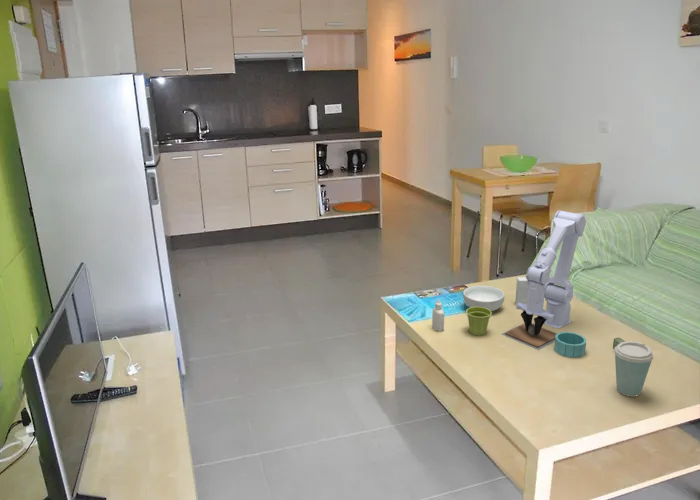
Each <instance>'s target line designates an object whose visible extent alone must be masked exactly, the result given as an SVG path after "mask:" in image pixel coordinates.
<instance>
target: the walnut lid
mask: <svg viewBox="0 0 700 500" xmlns="http://www.w3.org/2000/svg"><path fill="white" fill-rule="evenodd" d="M522 324H523V325H522ZM522 324H520V325H521V326H519V325H518V326H519V327H517V326H515V327H516V328H515V327H514V329H513V328H511V329H512V330H511V329H510V331H509V330H507V331H508V332H507V331H505V332H506V333H505V332H504V333H505V334H506V335H508V336H510V337H513V338H515V339H517V340H520V341H522V342H524V343H527V344H529V345H531V346H534V347H536V348H539V347H541V346H543V345H545V344H546V343H548V342H550V341H552V340H554V339H555V336H556V334H558V333H557V332H554V331H551V330H549V329H546V328H544V327H542V328H541V330H540V333H539V334H538V335H535V323H532V324H530V325H529V328H528V331H526V328H525V324H524V323H522Z"/></svg>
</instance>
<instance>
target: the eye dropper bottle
mask: <svg viewBox="0 0 700 500" xmlns="http://www.w3.org/2000/svg"><path fill="white" fill-rule="evenodd" d="M434 305H435V307H434V308H432V315H431V316H432V317H431V318H432V319H431V323H432V324H431V327H432V329H433V330H434V329H435V330H434V331H436V332H443V331H444V329H445V311H444V310H443V308H442V305H443V303H442V302H441V301H440V299H437V302H435V303H434Z"/></svg>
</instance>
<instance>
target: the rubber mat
mask: <svg viewBox="0 0 700 500" xmlns="http://www.w3.org/2000/svg"><path fill="white" fill-rule="evenodd" d="M523 324H525V323H524V322H523V323H522V324H520V325H518V326H515V327H514V328H516V327H519V326H521V325H523ZM514 328H513V327H512V328H511V329H510V330H512V329H514ZM510 330H507V331H505V332H502V333H501V335H502V336H503V337H507V338H509V339H512V340H514V341H516V342H519V343H521V344H524V345H525V346H527V347H530V348H532V349H534V350H538V351H540V350H541V349H544V348H545V347H547V346H549V345H551V344H553V343H555V339H554V340H552V341H550V342H548V343H546V344H545V345H543V346H541V347H539V348H536V347H534V346H531V345H529V344H527V343H524V342H522V341H520V340H517V339H515V338H513V337H510V336H508V335H506V334H505V333H506V332H508V331H510Z"/></svg>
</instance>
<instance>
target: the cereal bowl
mask: <svg viewBox="0 0 700 500" xmlns="http://www.w3.org/2000/svg"><path fill="white" fill-rule="evenodd" d="M462 298H463V302H464V303H465V305H466V306H467V307H468V308H471V307H484V308H487V309H489V310H490V311H491V312H493V311H495V310H498V309H500V308H501V307H502V306H503V304H504V302H505V292H504V291H503V290H502V289H500V288H497V287H495V286H490V285H482V284H481V285H472V286H469V287H466V288H465V289H464V290H463V292H462Z"/></svg>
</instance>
